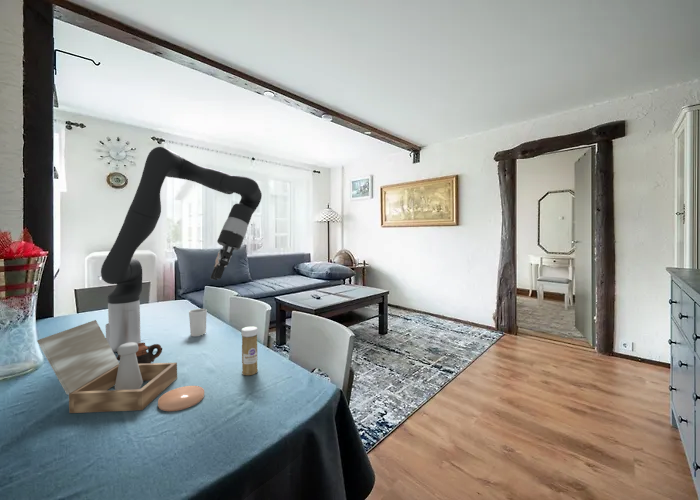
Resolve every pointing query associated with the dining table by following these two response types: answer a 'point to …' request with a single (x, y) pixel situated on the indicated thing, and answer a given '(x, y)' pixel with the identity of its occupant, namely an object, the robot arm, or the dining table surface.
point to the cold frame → (99, 372)
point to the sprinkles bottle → (249, 350)
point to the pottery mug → (146, 353)
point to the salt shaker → (128, 368)
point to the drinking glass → (197, 321)
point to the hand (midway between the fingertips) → (214, 278)
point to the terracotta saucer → (181, 398)
